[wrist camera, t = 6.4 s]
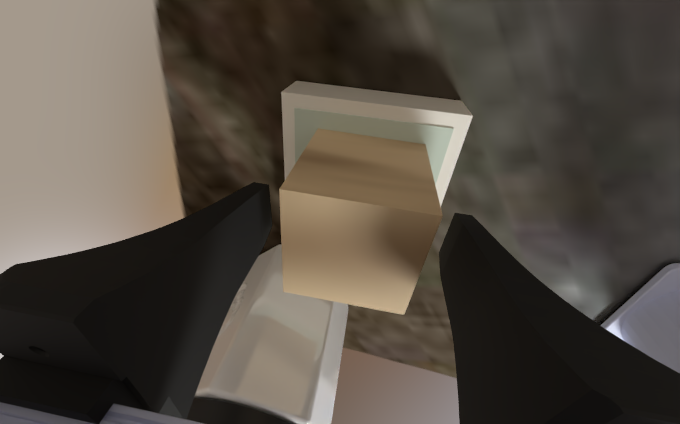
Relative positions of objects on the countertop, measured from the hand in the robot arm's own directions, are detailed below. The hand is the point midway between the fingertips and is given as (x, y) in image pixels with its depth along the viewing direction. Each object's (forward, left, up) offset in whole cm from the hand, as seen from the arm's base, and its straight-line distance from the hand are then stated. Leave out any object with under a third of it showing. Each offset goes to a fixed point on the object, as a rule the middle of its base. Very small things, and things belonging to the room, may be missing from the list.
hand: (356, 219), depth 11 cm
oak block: (0, 0, -2) cm, 3 cm away
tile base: (0, 0, -5) cm, 5 cm away
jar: (+4, +11, -5) cm, 13 cm away
